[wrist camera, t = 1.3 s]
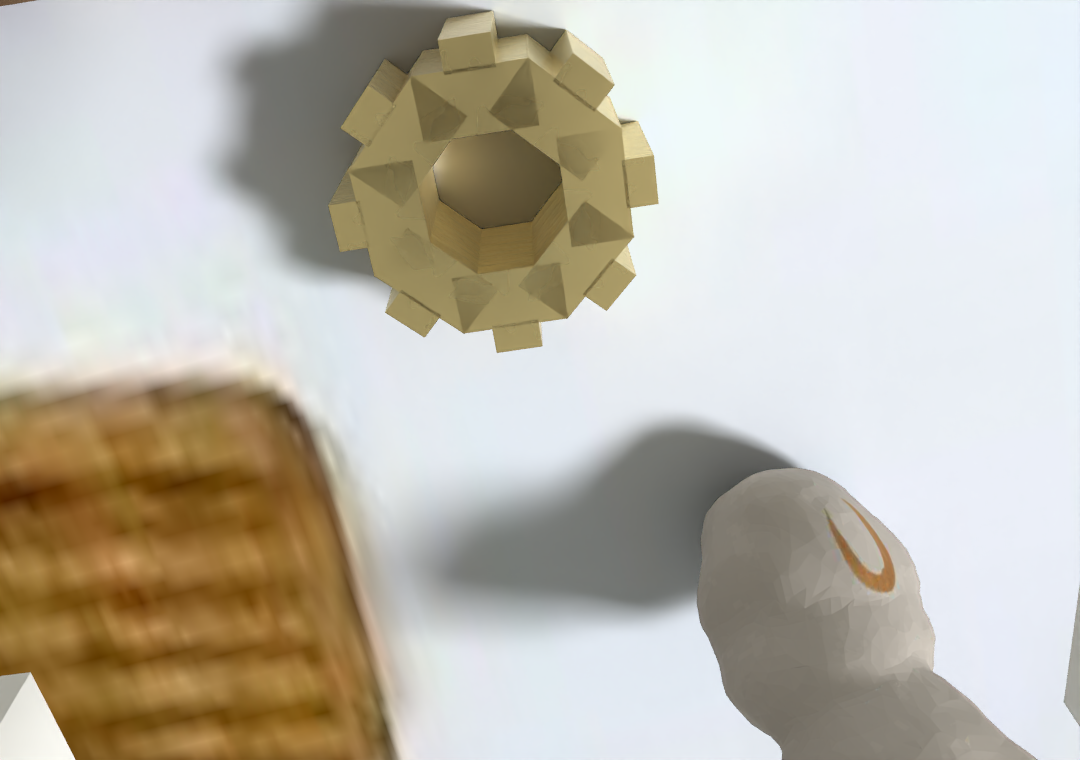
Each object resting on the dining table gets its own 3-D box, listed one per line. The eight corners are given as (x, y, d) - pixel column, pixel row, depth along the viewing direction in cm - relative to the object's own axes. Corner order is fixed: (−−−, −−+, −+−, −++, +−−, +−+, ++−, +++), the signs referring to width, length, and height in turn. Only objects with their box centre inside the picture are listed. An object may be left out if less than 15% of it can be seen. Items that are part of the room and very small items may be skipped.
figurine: (715, 653, 41) (809, 1028, 28) (653, 458, 37) (731, 796, 24) (924, 600, 40) (1126, 964, 27) (887, 392, 36) (1108, 708, 23)
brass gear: (386, 317, 34) (371, 371, 30) (317, 39, 30) (291, 63, 26) (654, 278, 34) (670, 327, 30) (624, -11, 29) (639, 7, 26)
